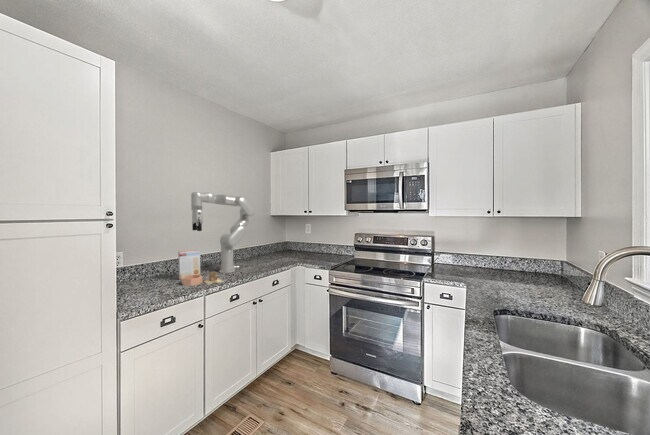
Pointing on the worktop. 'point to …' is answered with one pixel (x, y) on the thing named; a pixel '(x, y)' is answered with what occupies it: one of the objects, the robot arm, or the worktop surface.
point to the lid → (212, 278)
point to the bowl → (191, 280)
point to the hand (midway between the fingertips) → (197, 230)
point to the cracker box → (189, 263)
